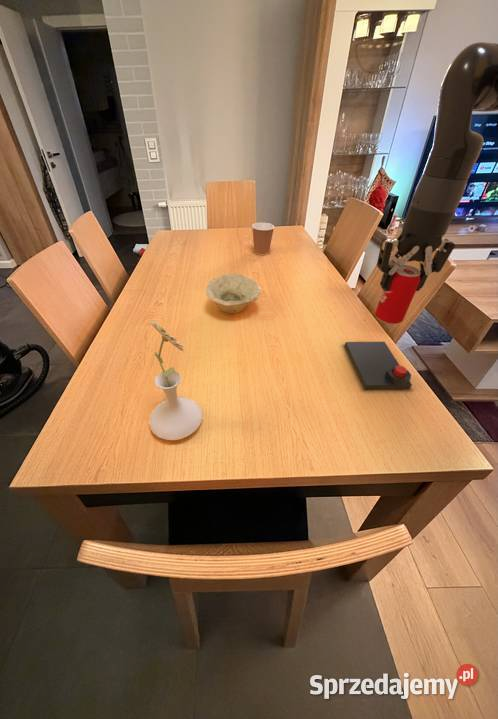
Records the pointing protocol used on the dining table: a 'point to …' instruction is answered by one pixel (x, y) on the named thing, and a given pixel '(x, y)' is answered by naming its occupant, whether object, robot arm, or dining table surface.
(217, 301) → the bowl
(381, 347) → the grey plate red button
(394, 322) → the beverage can
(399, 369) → the button
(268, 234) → the coffee cup
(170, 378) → the flower in vase
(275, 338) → the dining table surface
